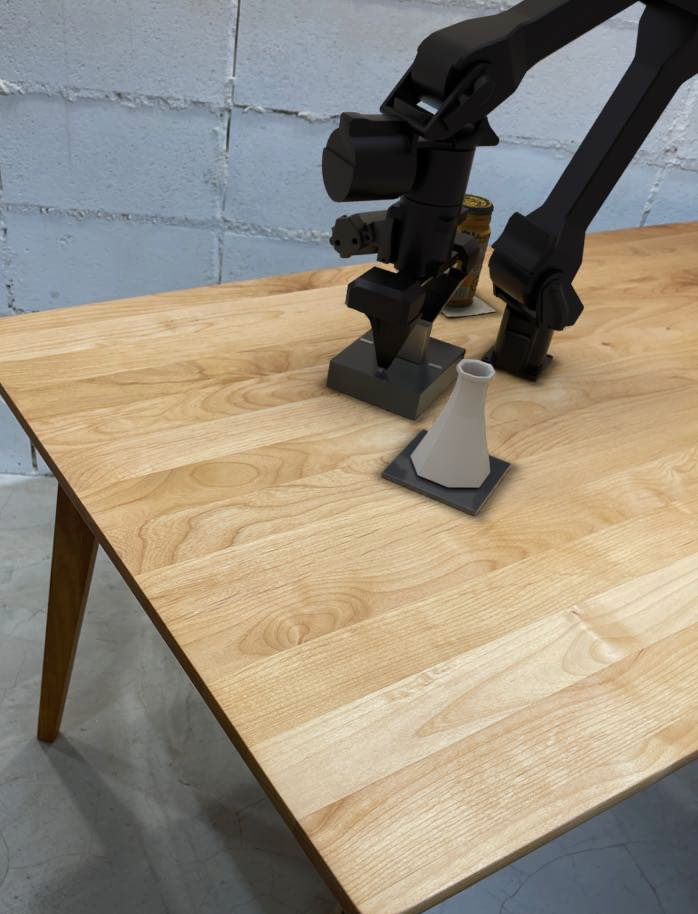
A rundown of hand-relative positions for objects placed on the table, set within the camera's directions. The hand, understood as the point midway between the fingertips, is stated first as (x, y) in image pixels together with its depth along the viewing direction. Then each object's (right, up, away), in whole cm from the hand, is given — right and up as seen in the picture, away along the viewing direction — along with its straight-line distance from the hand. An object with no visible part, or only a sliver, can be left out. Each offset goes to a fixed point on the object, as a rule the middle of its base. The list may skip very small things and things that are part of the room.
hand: (400, 351), depth 86 cm
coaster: (+3, -13, -10) cm, 17 cm away
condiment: (+9, +10, +19) cm, 23 cm away
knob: (0, 0, 0) cm, 0 cm away
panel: (0, -2, +2) cm, 3 cm away
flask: (+3, -13, -10) cm, 16 cm away
